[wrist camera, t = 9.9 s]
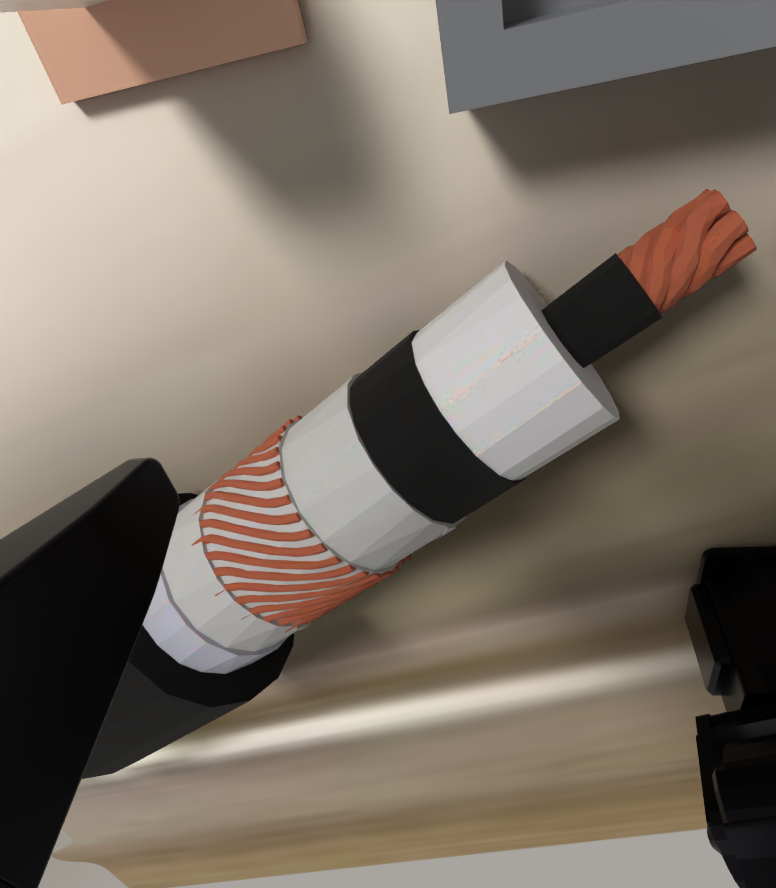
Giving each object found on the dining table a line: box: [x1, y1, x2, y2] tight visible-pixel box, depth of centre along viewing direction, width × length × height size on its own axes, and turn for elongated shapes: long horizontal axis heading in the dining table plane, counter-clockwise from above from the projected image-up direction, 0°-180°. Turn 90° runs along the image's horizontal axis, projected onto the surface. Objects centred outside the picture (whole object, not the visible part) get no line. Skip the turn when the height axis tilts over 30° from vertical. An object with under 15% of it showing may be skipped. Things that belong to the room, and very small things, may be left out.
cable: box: [81, 189, 756, 779], centre depth 23 cm, size 10×34×10 cm, turn 133°
